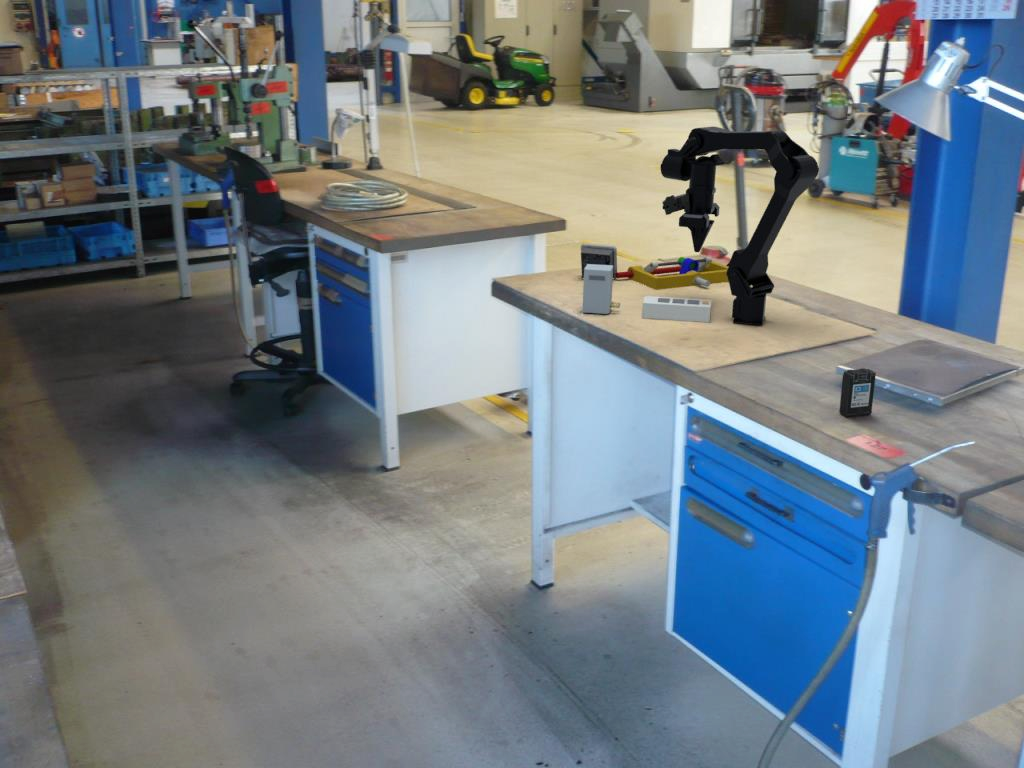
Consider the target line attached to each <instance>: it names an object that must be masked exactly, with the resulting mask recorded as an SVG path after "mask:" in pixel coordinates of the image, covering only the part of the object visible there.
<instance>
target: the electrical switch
mask: <svg viewBox="0 0 1024 768" xmlns="http://www.w3.org/2000/svg"><path fill="white" fill-rule="evenodd" d="M617 251H618V250H617V247H616V246H614V245H605V244H597V243H596V244H595V243H594V244H592V243H585V242H584V243H582V244H581V246H580V264H581V265H580V266H581V279H583V278H584V269H585V267H586V265H587V264H596V265H613V278H614V279H613V280H616V279H617V278H616V276H615V274H616V273H617V272H618V257H617V256H618V254H617V253H618V252H617Z"/></svg>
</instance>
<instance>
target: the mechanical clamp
mask: <svg viewBox="0 0 1024 768" xmlns="http://www.w3.org/2000/svg"><path fill="white" fill-rule="evenodd" d="M676 265H677V266H676ZM665 266H666V267H665ZM667 266H669V267H667ZM728 267H729V266H726V265H724V264H722V263H719V262H716V261H713V258H712V257H711V256H707V257H706V256H705V257H703V258H702V259H701V258H699V259H693V258H690V257H686V258H685V257H682V256H681V257H679V258H678V259H677V261H670V262H668V261H667V262H661V263H660V262H659V263H658V262H657V261H654V262H653V261H652V262H650V263H649V264H647V265H646V266H645V267H643V265H635V266H633V265H632V266H629V267H628V269H627V271H619V272H618V271H617V273H616V274H615V276H616V279H625V278H628V279H629V280H631V281H634V282H637V283H638V282H639V283H638V284H641V285H643V284H644V286H645V285H646V286H645V287H647V288H650V289H652V288H653V289H652V290H656V291H659V290H665V289H667V290H668V289H675V288H676V289H678V288H685V287H686V288H687V287H694V286H703V287H707V288H708V287H710V286H711V284H712V285H713V283H714V284H719V283H720V284H721V282H723V283H729V280H728V277H727V275H726V273H727V269H728ZM670 273H671V274H672V275H671V274H670ZM673 273H678V274H673ZM663 274H664V276H663ZM665 274H670V275H665ZM658 275H662V276H658Z"/></svg>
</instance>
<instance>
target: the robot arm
mask: <svg viewBox="0 0 1024 768" xmlns="http://www.w3.org/2000/svg"><path fill="white" fill-rule="evenodd" d="M727 150H764V151H765V152H766V153H767V157H768V160H769V164H770V166H771V167H772V168H773V169H774V171H776V172H775V175H774V178H773V183H774V184H773V186H774V191H773V194H772V196H771V198H770V199H769V201H768V204H767V206H766V208H765V210H764V212H763V214H762V216H761V218H760V220H759V222H758V224H757V226H756V228H755V230H754V232H753V233H752V236H751V238H750V240H749V242H748V244H747V246H746V247H745V248H741V249H737V250H734V251H733V252H732V254H731V256H730V257H731V258H730V260H729V262H728V263H727V264H726V265H725V266H728V269H727V273H726V275H727V277H728V280H729V282H728V284H729V289H730V293H731V296H733V297H735V298H733V301H732V311H731V318H732V319H733V320H732V323H734V324H742V325H754V326H763V325H764V324H765V323H764V322H765V321H766V316H765V313H766V303H767V294H772V293H773V291H774V288H775V283H774V282H773V281H772V279H771V278H770V276H769V275H768V273H767V270H768V268H769V256H768V255H769V253H770V251H771V249H772V247H773V246H774V243H775V241H776V239H777V237H778V235H779V233H780V232H781V229H782V227H783V226H784V223H785V221H786V219H787V217H788V216H789V214H790V212H791V210H792V208H793V206H794V205H795V202H796V201H797V199H798V198H799V197H800V196H801V195H802V194H804V193H805V191H806V190H808V189H809V188H810V186H811V185H812V183H814V181H815V180H816V178H817V177H818V175H819V172H820V168H819V165H818V162H817V160H816V159H815V157H814V156H812V155H810V154H809V153H808V152H807V150H806V149H805V148H803V147H802V146H801V145H799V144H798V143H797V142H796V141H794V140H793V139H792V138H790V136H789V135H788V134H787V132H786V131H784V130H781V129H775V130H769V131H768V130H767V131H761V130H760V131H758V130H757V131H756V130H755V131H733V130H732V131H731V130H729V129H726V128H724V127H723V128H722V127H717V126H706V127H696V128H693V129H691V131H690V132H689V134H688V136H687V139H686V141H685V142H684V144H683V146H682V147H681V148H680V149H678V148H677V149H676V148H670V149H667V154H665V156H664V158H663V159H662V162H661V164H660V173H661V175H662V177H663V178H665V179H667V180H668V179H669V180H676V181H681V182H688V181H689V183H688V184H689V185H688V188H687V189H686V190H685V193H682V194H678V195H676V196H675V195H674V194H673V195H670V196H666V197H665V199H664V200H662V207H661V208H662V210H664V213H665V215H666V216H669V215H672V213H673V214H674V213H676V212H679V211H683V212H684V213H683V214H682V215H681V216H680V217H678V227H682V228H688V230H689V231H690V234H691V239H692V247H693V251H694V253H700V252H701V250H702V248H703V246H704V244H705V242H706V239H707V237H708V235H709V233H710V231H711V229H712V227H713V225H714V223H715V220H714V219H710V215H714V217H717V218H718V217H719V215H720V206H719V205H718V203H717V202H714V200H715V199H714V198H715V193H716V192H717V188H716V172H717V167H718V166H725V164H726V163H725V160H723V159H722V157H720V155H719V153H718V152H723V151H727ZM712 153H713V154H712ZM714 153H715V154H714ZM708 154H711V155H710V156H707V155H708ZM751 286H752V287H751Z"/></svg>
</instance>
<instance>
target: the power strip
mask: <svg viewBox="0 0 1024 768" xmlns="http://www.w3.org/2000/svg"><path fill="white" fill-rule="evenodd" d="M711 307H712V299H701V298H700V299H699V298H688V297H687V298H685V297H683V298H682V297H669V296H668V297H667V296H654V295H652V296H651V295H645V296H644V298H643V302H642V308H641V309H642V310H641V311H642V312H641V319H649V318H653V319H652V320H665V321H666V320H667V321H682V322H694V321H697V322H696V323H710V322H711V321H710V317H711Z"/></svg>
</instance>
